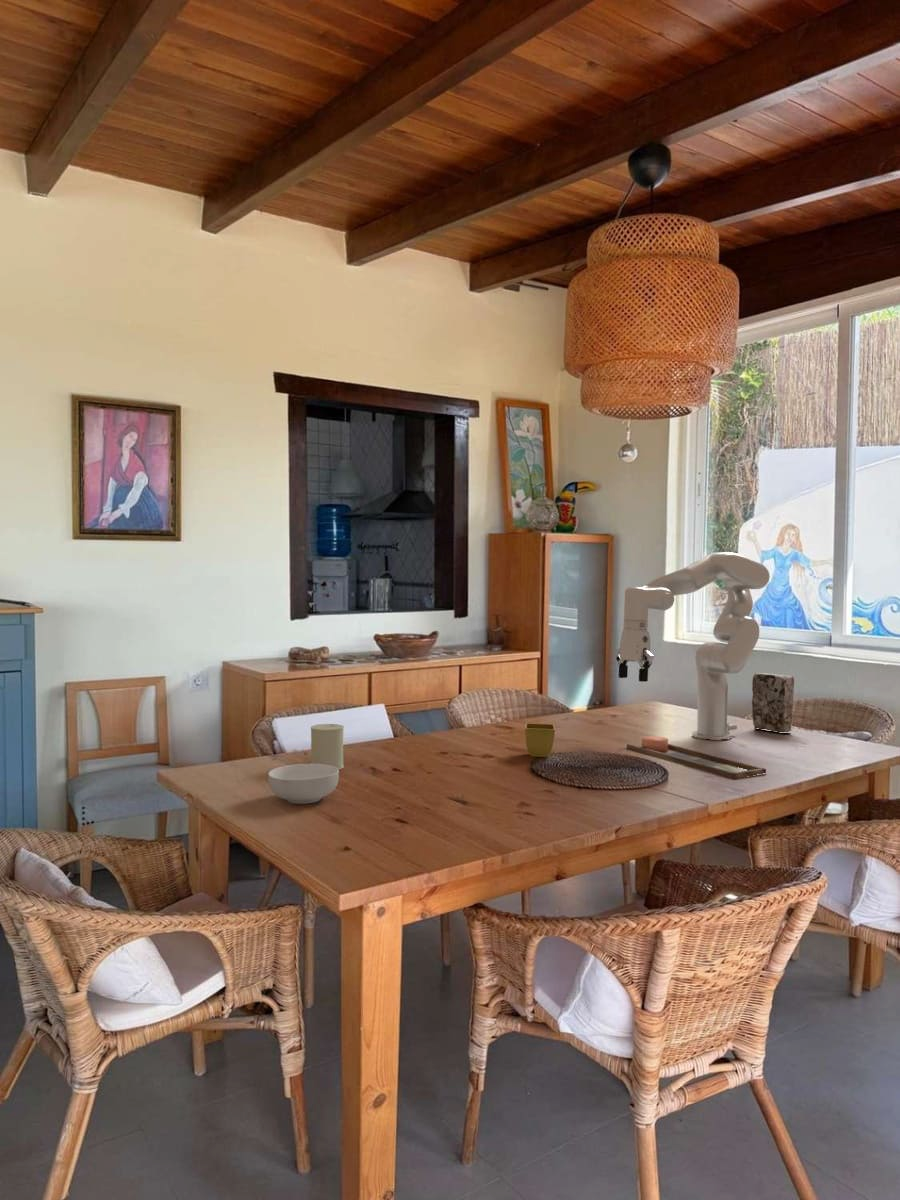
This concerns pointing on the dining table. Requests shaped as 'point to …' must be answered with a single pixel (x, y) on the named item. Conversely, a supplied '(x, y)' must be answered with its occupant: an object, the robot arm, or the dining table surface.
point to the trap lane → (703, 761)
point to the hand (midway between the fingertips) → (632, 679)
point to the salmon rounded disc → (655, 743)
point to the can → (327, 745)
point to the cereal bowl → (303, 782)
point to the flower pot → (539, 739)
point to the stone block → (772, 701)
